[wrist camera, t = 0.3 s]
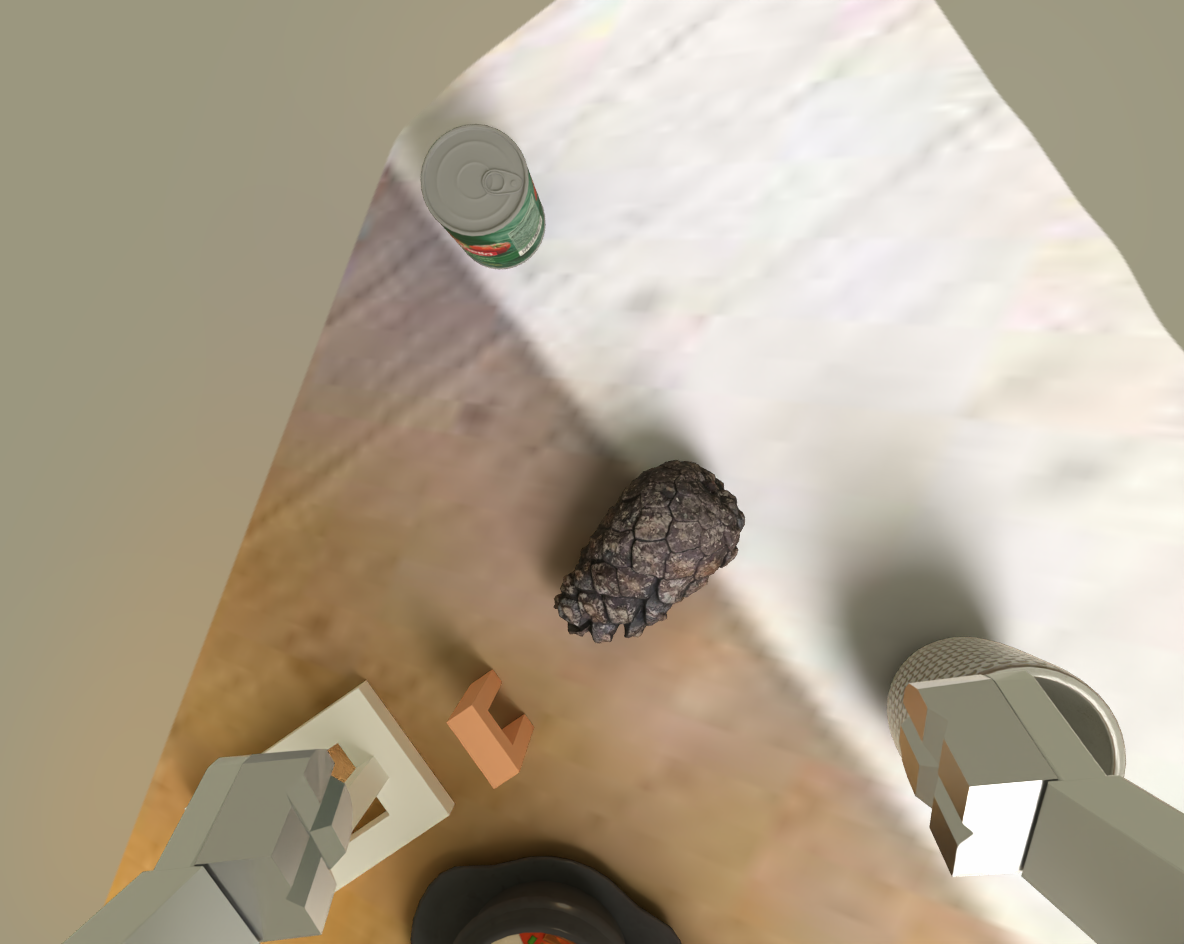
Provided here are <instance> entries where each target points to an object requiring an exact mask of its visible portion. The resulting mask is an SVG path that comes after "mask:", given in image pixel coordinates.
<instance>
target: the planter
mask: <svg viewBox="0 0 1184 944" xmlns="http://www.w3.org/2000/svg"><path fill="white" fill-rule="evenodd" d="M1023 670H1025V671H1026V672H1028V673H1030V674H1031V675H1033V676H1034V678H1035V679H1036V680H1037V682H1038V683H1039V685H1040V686H1041V687H1042V689H1043V690H1044V691H1045V693H1046V694H1047V695H1048V697H1049V698H1050V699H1051V701H1052V702H1053V704H1054V705H1055V706H1056V708H1057V709H1058V710H1059V712H1060V713H1061V714H1062V716H1063V717H1064V718H1065V720H1066V721H1067V722H1068V724H1069V725H1070V727H1071V728H1072V729H1073V731H1074V732H1075V733H1076V735H1077V736H1078V737H1079V739H1080V740H1081V741H1082V743H1083V744H1084V746H1085V747H1086V748H1087V750H1088V751H1089V752H1090V754H1091V755H1092V756H1093V758H1094V759H1095V760H1096V762H1097V763H1098V764H1099V766H1100V767H1101V769H1102V770H1103V771H1104V773H1105V774H1106V775H1107V776H1110V775H1120V776H1122V777H1124V774H1125V767H1126V755H1125V745H1124V740H1123V735H1122V732H1121V730H1120V727H1119V725H1118V722H1117V720H1116V718H1115V716H1114V715H1113V713H1112V711H1111V710H1110V708H1109V706H1108V705H1107V704H1106V703H1105V702H1104V700H1103V699H1102V698H1101V697H1100V696H1099V694H1097V693H1096V692H1095V691H1094V690H1093V689H1092V688H1091V687H1089V686H1088V685H1087V684H1086V683H1084V682H1083V681H1082V680H1081V679H1079V678H1077V677H1076V676H1074V675H1073V674H1071V673H1069V672H1068V671H1066V670H1064V669H1062V668H1060V667H1058V666H1056V665H1053V664H1051V663H1049V662H1046V661H1044V660H1042V659H1039V658H1037V657H1035V656H1033V655H1030V654H1028V653H1026V652H1023V651H1021V650H1018V649H1016V648H1013V647H1010V646H1008V645H1005V644H1002V643H998V642H995V641H991V640H987V639H982V638H975V637H951V638H946V639H941V640H938V641H935V642H933V643H930V644H928V645H926V646H924V647H922V648H920V649H919V650H917V651H916V652H915V653H913V654H912V655H911V656H909V657H908V659H907V660H906V661H905V662H904V663H903V664H902V665H901V667H900V668H899V670H898V671H897V672H896V674H895V676H894V678H893V681H892V683H891V686H890V690H889V693H888V700H887V719H888V724H889V728H890V732H891V735H892V738H893V740H894V743H895V745H896V748H897V750H898V752H899V754H900V756H901V757H902V755H901V749H900V743H899V741H900V725H901V724H902V723H903V722H904V721H905V720H906V719H907V718H908V717H909V714H908V712H907V710H906V708H905V706H904V704H903V699H904V691H905V688H906V687H907V685H908V684H909V683H915V682H923V681H931V680H939V679H947V678H955V677H964V676H972V675H980V674H981V675H986V674H995V673H1004V672H1013V671H1023Z"/></svg>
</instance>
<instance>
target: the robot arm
mask: <svg viewBox="0 0 1184 944" xmlns="http://www.w3.org/2000/svg"><path fill="white" fill-rule="evenodd" d="M903 704H904V706H905V708H906V710H907V712H908V714H909V717H908V718H907V719H906V720H905V721H904V722H903V723H902V724H901V725H900V741H899V743H900V749H901V755H902V762H903V765H904V768H905V771H906V774H907V777H908V780H909V782H910V785H911V787H912V789H913V792H914V794H915V796H916V797H918V798H919V799H920V800H921V801H923V802H924V803H925V804H927V805H928V806H929V807H931V808H932V813H931V820H930V830H931V832H932V834H933V836H934V838H935V840H936V843H937V845H938V847H939V849H940V851H941V854H942V856H943V858H944V860H945V862H946V864H947V867H948V869H949V871H950V873H951V875H952V877H958V876H973V875H989V874H1005V873H1021V872H1022V877H1023V878H1024V879H1025V880H1026V881H1027V882H1029V883H1030V884H1031V885H1032V886H1033V887H1034V888H1035V889H1036V890H1038V891H1039V892H1040V893H1041V894H1042V895H1043V896H1044V897H1045V898H1047V899H1048V900H1049V901H1050V902H1051V903H1052V904H1053V905H1054V906H1055V907H1057V908H1058V909H1059V910H1060V911H1061V912H1062V913H1063V914H1064V915H1066V916H1067V917H1068V918H1069V919H1070V920H1071V921H1072V922H1073V923H1075V924H1076V925H1077V926H1078V927H1079V928H1080V929H1081V930H1082V931H1083V932H1085V933H1086V934H1087V935H1088V936H1089V937H1090V938H1091V939H1092V940H1094V941H1095V942H1096V943H1097V944H1184V813H1182V812H1180V811H1179V810H1177V809H1175V808H1174V807H1172V806H1170V805H1169V804H1167V803H1165V802H1164V801H1162V800H1160V799H1159V798H1157V797H1155V796H1154V795H1152V794H1150V793H1149V792H1147V791H1145V790H1144V789H1142V788H1140V787H1139V786H1137V785H1135V784H1134V783H1132V782H1130V781H1129V780H1127V779H1125V778H1124V777H1122V776H1120V775H1110V776H1107V775H1106V774H1105V773H1104V771H1103V770H1102V769H1101V767H1100V766H1099V764H1098V763H1097V762H1096V760H1095V759H1094V758H1093V756H1092V755H1091V754H1090V752H1089V751H1088V750H1087V748H1086V747H1085V746H1084V744H1083V743H1082V741H1081V740H1080V739H1079V737H1078V736H1077V735H1076V733H1075V732H1074V731H1073V729H1072V728H1071V727H1070V725H1069V724H1068V722H1067V721H1066V720H1065V718H1064V717H1063V716H1062V714H1061V713H1060V712H1059V710H1058V709H1057V708H1056V706H1055V705H1054V704H1053V702H1052V701H1051V699H1050V698H1049V697H1048V695H1047V694H1046V693H1045V691H1044V690H1043V689H1042V687H1041V686H1040V685H1039V683H1038V682H1037V680H1036V679H1035V678H1034V676H1033V675H1031V674H1030V673H1028V672H1026V671H1025V670H1023V671H1013V672H1004V673H995V674H986V675H981V674H980V675H972V676H964V677H955V678H947V679H939V680H931V681H923V682H915V683H909V684H908V685H907V687H906V688H905V691H904V699H903ZM334 764H335V763H334V762H333V760H332V758H331V756H330V755H329V753H328V751H327V750H326V749H312V750H299V751H287V752H275V753H262V754H252V755H242V756H231V757H221V758H218V759H217V760H216V761H215V762H214V763H213V764H211V765H210V766H209V767H208V769H207V770H206V772H205V774H204V776H203V778H202V780H201V782H200V784H199V785H198V787H197V789H196V791H195V793H194V795H193V797H192V799H191V801H190V802H189V804H188V806H187V808H186V810H185V812H184V814H183V816H182V818H181V819H180V821H179V823H178V825H177V827H176V829H175V831H174V833H173V834H172V836H171V838H170V840H169V842H168V844H167V846H166V848H165V850H164V851H163V853H162V855H161V857H160V859H159V861H158V863H157V865H156V867H155V868H154V870H153V871H145V872H142V873H141V874H140V875H139V876H138V877H136V878H135V879H134V880H133V881H132V882H131V883H130V884H129V885H127V886H126V887H125V888H124V889H123V890H122V891H121V892H120V893H118V894H117V895H116V896H115V897H114V898H113V899H112V900H111V901H109V902H108V903H107V904H106V905H105V906H104V907H103V908H102V909H100V910H99V911H98V912H97V913H96V914H95V915H94V916H92V917H91V918H90V919H89V920H88V921H87V922H86V923H85V924H83V925H82V926H81V927H80V928H79V929H78V930H77V931H76V932H75V933H73V934H72V935H71V936H70V937H69V938H68V939H67V940H65V941H64V942H63V943H62V944H260V943H259V942H266V941H274V940H283V939H291V938H299V937H307V936H315V935H322V932H323V928H324V925H325V922H326V918H327V915H328V912H329V908H330V905H331V902H332V898H333V895H334V892H335V889H336V885H337V884H336V881H335V879H334V876H333V874H332V871H331V868H332V867H333V866H334V865H335V864H336V863H337V862H338V861H339V860H340V859H341V858H342V856H343V855H344V854H345V853H346V851H347V848H348V844H349V840H350V837H351V833H352V821H353V806H352V801H351V796H350V793H349V791H348V789H347V787H346V785H345V783H343V782H341V781H339V780H338V779H336V778H334V777H333V776H331V773H332V770H333V767H334Z"/></svg>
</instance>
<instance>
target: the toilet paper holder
mask: <svg viewBox="0 0 1184 944" xmlns="http://www.w3.org/2000/svg"><path fill="white" fill-rule="evenodd" d="M337 743H338V744H339V745H340V747H341V748H342V749H343V751H344V752H345V753H346V755H347V756H348V758H349V759H350V760H351V762H352V763H353V765H354V766H355V767H356V769H355V770H354V771H353V773H352V774H351V775H350V776H349V777H348V779H347V780H346V781H345V782H344V783H345V785H346V787H347V789H348V791H349V793H350V796H351V801H352V806H353V821H352V831H353V829H354V828H355V827H356V825H357V824H358V822H359V821H360V819H361V818H362V816H363V815H364V814H365V812H366V811H367V809H368V808H369V806H370V805H371V804H372V802H373V801H374V799H375V798H376V797H377V798H378V799H379V801H380V802H381V804H382V805H383V806H384V808H385V809H386V811H385V812H384V813H382V814H381V815H379V816H378V817H376V818H375V819H374V820H372V821H371V822H369V823H368V824H366V825H365V826H363V827H362V828H360V829H359V830H357V831H356V832H354V833H353V834H351V837H350V840H349V844H348V848H347V851H346V853H345V854H344V855H343V856H342V858H341V859H340V860H339V861H338V862H337V863H336V864H335V865H334V866H333V867H332V868H331V871H332V874H333V876H334V879H335V881H336V884H337V885H336V889H335V892H336V891H337V890H339V889H340V888H342V887H343V886H345V885H346V884H348V883H349V882H351V881H352V880H354V879H355V878H357V877H358V876H360V875H361V874H363V873H364V872H366V871H367V870H369V869H370V868H372V867H373V866H375V865H376V864H378V863H379V862H381V861H382V860H384V859H385V858H387V857H388V856H390V855H391V854H393V853H394V852H396V851H397V850H398V849H400V848H401V847H403V846H404V845H406V844H407V843H409V842H410V841H412V840H413V839H415V838H416V837H418V836H419V835H421V834H422V833H424V832H425V831H427V830H428V829H430V828H431V827H433V826H434V825H436V824H437V823H439V822H440V821H442V820H443V819H445V818H446V817H448V816H449V815H450V813H451V811H452V809H453V807H454V804H455V803H454V802H453V800H452V799H451V797H450V796H449V795H448V793H447V792H446V790H445V789H444V788H443V786H442V785H441V783H440V782H439V781H438V779H437V778H436V776H435V775H434V774H433V772H432V771H431V769H430V768H429V767H428V765H427V764H426V762H425V761H424V760H423V758H422V757H421V756H420V754H419V753H418V751H417V750H416V749H415V747H414V746H413V744H412V743H411V742H410V740H409V739H408V737H407V736H406V735H405V733H404V732H403V730H402V729H401V728H400V726H399V725H398V723H397V722H396V721H395V719H394V718H393V716H392V715H391V714H390V712H389V711H388V709H387V708H386V707H385V705H384V704H383V702H382V701H381V700H380V698H379V697H378V695H377V694H376V693H375V691H374V690H373V688H372V687H371V686H370V684H369V683H368V681H367V680H366V681H364V682H363V683H361V684H360V685H358V686H357V687H356V688H354V689H353V690H351V691H350V692H348V693H347V694H346V695H344V696H343V697H341V698H340V699H338V700H337V701H335V702H334V703H333V704H331V705H330V706H328V707H327V708H325V709H324V710H323V711H321V712H320V713H318V714H317V715H315V716H314V717H313V718H311V719H310V720H308V721H307V722H305V723H304V724H303V725H301V726H300V727H298V728H297V729H295V730H294V731H292V732H291V733H290V734H288V735H287V736H285V737H284V738H282V739H281V740H280V741H278V742H277V743H275V744H274V745H272V746H271V747H270V748H268V749H267V750H265V751H264V752H262V753H275V752H287V751H299V750H312V749H326V750H328V749H330V748H331V747H332V746H334V745H335V744H337ZM262 753H261V754H262ZM186 808H187V807H186ZM186 808H185V810H186Z"/></svg>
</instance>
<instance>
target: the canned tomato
mask: <svg viewBox="0 0 1184 944" xmlns="http://www.w3.org/2000/svg"><path fill="white" fill-rule="evenodd" d="M421 190H422V194H423V198H424V201H425V203H426V205H427V207H428V209H429V211H430V212H431V214H432V215H433V216H434V218H435V219H436V220H437V221H438V222H440V224H441V225H442V226H443V227H444V228H445V229H446V230H447V232H448V233H449V234H450V235H451V236H452V237H453V238H454V239H455V240H456V242H457V243H458V244H459V245H460V246H461V247H462V248H463V249H464V250H465V252H466V253H467V255H469V256H470V257H471V258H472V259H473V260H474V261H476V262H477V263H479V264H481V265H483V266H486V267H488V268H493V269H509V268H512V267H516V266H518V265H520V264H522V263H524V262H525V261H527V260H528V259H529V258H530V257H531V256H532V255H533V254H534V253H535V252H536V251H537V249H538V247H539V246H540V244H541V242H542V239H543V236H544V232H545V214H544V210H543V206H542V204H541V202H540V200H539V197H538V194H537V191H536V189H535V186H534V183H533V181H532V178H531V176H530V173H529V170H528V168H527V164H526V161H525V158H524V156H523V154H522V152H521V150H520V149H519V147H518V146H517V145H516V143H515V142H514V141H513V140H512V139H511V138H510V137H509V136H507V135H506V134H505V133H503V132H501V131H500V130H498V129H496V128H493V127H490V126H487V125H480V124H471V125H464V126H460V127H457V128H454V129H452V130H450V131H448V132H447V133H445V134H444V135H443V136H441V137H440V138H439V139H438V140H437V141H436V142H435V143H434V144H433V146H432V147H431V148H430V150H429V152H428V154H427V155H426V157H425V160H424V163H423V166H422V172H421Z"/></svg>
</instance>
